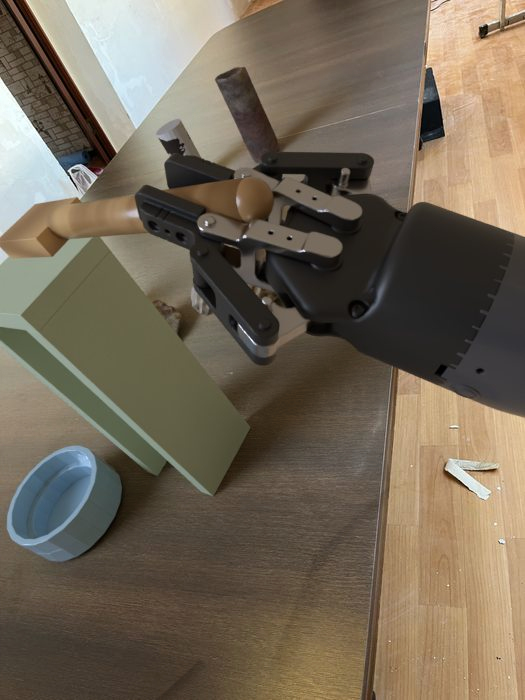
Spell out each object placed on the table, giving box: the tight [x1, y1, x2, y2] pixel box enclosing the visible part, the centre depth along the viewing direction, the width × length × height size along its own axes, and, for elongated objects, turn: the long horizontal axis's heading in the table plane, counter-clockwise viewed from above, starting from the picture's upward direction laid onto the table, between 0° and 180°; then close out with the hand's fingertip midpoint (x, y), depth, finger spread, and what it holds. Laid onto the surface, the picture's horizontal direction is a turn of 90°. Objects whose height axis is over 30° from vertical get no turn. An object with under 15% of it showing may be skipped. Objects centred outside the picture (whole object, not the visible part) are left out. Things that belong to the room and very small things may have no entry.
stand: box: [0, 237, 251, 497], centre depth 55 cm, size 10×12×32 cm
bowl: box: [6, 444, 123, 562], centre depth 65 cm, size 14×14×6 cm
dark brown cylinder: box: [214, 66, 280, 164], centre depth 113 cm, size 8×7×20 cm
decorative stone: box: [151, 299, 182, 335], centre depth 84 cm, size 10×4×15 cm
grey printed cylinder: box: [155, 118, 202, 158], centre depth 121 cm, size 7×7×15 cm
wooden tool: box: [0, 177, 274, 259], centre depth 30 cm, size 23×4×2 cm, turn 61°
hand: (156, 187), depth 26 cm, fingers closed on wooden tool, 2 cm apart
